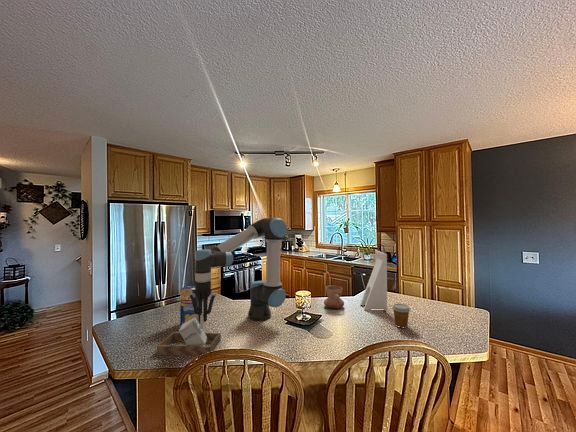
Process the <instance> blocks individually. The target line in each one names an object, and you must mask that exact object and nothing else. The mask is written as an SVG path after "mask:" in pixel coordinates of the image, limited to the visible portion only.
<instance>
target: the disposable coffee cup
mask: <svg viewBox="0 0 576 432" xmlns="http://www.w3.org/2000/svg"><path fill="white" fill-rule="evenodd" d="M392 309H393V315H394V322H395V323H394V325H395V326H396V325H397V326H400V327H406V326H407V327H408V322H409V315H410V310H411V309H410V306H409V305H407V304H404V303H394V304H393V305H392Z"/></svg>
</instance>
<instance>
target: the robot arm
mask: <svg viewBox="0 0 576 432" xmlns="http://www.w3.org/2000/svg"><path fill="white" fill-rule="evenodd" d="M287 232H288V225H287V223H286V221H285V220H284V219H282V218H280V217H279V218H278V217H270V218H269V217H264V218H261V219H259V220H256V221H255V222H253V223H251V224H250V225H248V226H247V227H246V229H244V230H242V231H240V232H238V233H237V234H235V235H233V236H231V237H230V238H228V239H226V240H224V241H222V242H221V243H218V245H215V246H214V247H212V248H208V249H197V250H196V251H195V254H194V255H195V256H194V263H195V266H194V267H195V268H194V269H195V270H194V271H195V274H194V276H195V278H194V281H195V282H194V286H195V291H194V293H193V294H191V295H190V298H191V300H192V304H193V308H194V313H195V314H198V316H199V322H200V324H199V325H200V329H202V330H204V329H205V328H206V322H207V321H208V315H210V314H211V312H212V310H213V305H214V301H215V298H216V296H217V294H216V293H213V292H212V289H211V288H212V281H211V279H212V269H213V268H221V267H228V266H231V265H232V264H233V263H234V254H233V253H232V252H234V251H235V250H237V249H238V248H240V247H242V246H244V245H245V244H247V243H248V242H250V241H252V240H257V239H258V238H261V237H264V241H265V243H266V266H265V267H266V269H265V271H266V273H265V280H256V281H253V282H251V283H250V288H249V289H250V290H249V291H250V294H249V295H250V306H249V309H248V312H247V318H248V320H250V321H254V322H261V321H266V320H268V319H270V318H271V317H272V312H271V309H270V307H271V308H279V307H281V306H282V305H283V303H284V302H285V300H286V297H287V295H286V291H285V289H283V283H282V282H281V250H282V249H281V247H282V246H281V245H282V242H283V241H284V237H285V236H286V235H287ZM196 297H197V298H198V305H197V300H196ZM209 298H210V299H209ZM208 300H209V303H208Z"/></svg>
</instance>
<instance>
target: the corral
mask: <svg viewBox="0 0 576 432" xmlns="http://www.w3.org/2000/svg"><path fill="white" fill-rule="evenodd" d="M204 333H205V335H206V336H207V339H206V342H211V343H210V344H209V345H203V346H187V345H176V344H175V345H174V344H173V345H172V343H173V342H174V341H181V342H185V341H184V339H183V337H182V336H181V334H180V332H179V331H172V332H171V333H170V334H169V335H167V336H166V337H165V339H163V340H162V341H161V342H160V343H159V344H157V345H156V355H159V354H160V356H161V355H164V356H165V355H166V356H167V355H168V356H200V355H202V354H205V353H207V352H211V351H213V352H214V351H215V350H216V348H217V347H218V345H219V344H220V343H221V340H222V337H221V336H222V335H221V333H222V332H204ZM170 344H171V345H170ZM200 357H201V356H200Z"/></svg>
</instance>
